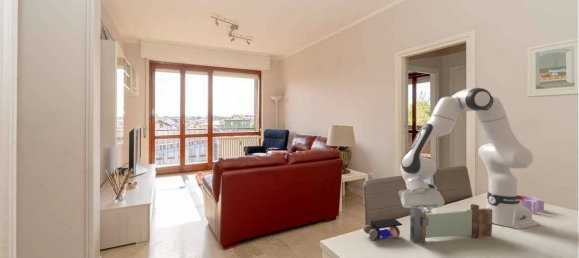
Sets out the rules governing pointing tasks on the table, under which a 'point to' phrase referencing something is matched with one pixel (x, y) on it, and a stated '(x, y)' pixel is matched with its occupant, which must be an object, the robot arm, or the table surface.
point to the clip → (532, 204)
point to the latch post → (416, 224)
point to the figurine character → (385, 233)
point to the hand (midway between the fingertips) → (428, 215)
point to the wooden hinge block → (481, 222)
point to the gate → (447, 224)
